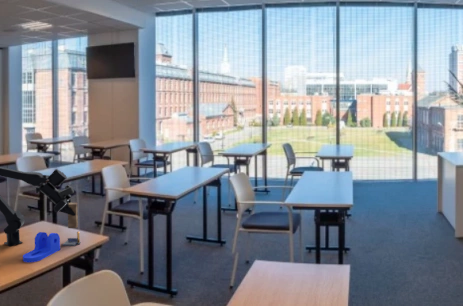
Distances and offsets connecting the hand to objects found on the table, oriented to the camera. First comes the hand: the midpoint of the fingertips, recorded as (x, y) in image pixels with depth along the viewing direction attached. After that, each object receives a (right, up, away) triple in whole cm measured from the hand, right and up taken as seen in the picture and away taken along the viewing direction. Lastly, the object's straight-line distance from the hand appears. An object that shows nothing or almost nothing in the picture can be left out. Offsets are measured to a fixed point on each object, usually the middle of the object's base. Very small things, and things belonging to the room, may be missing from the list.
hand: (75, 214), depth 226 cm
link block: (-1, -7, 0) cm, 7 cm away
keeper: (-1, -14, -4) cm, 15 cm away
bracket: (-9, -16, -21) cm, 28 cm away
